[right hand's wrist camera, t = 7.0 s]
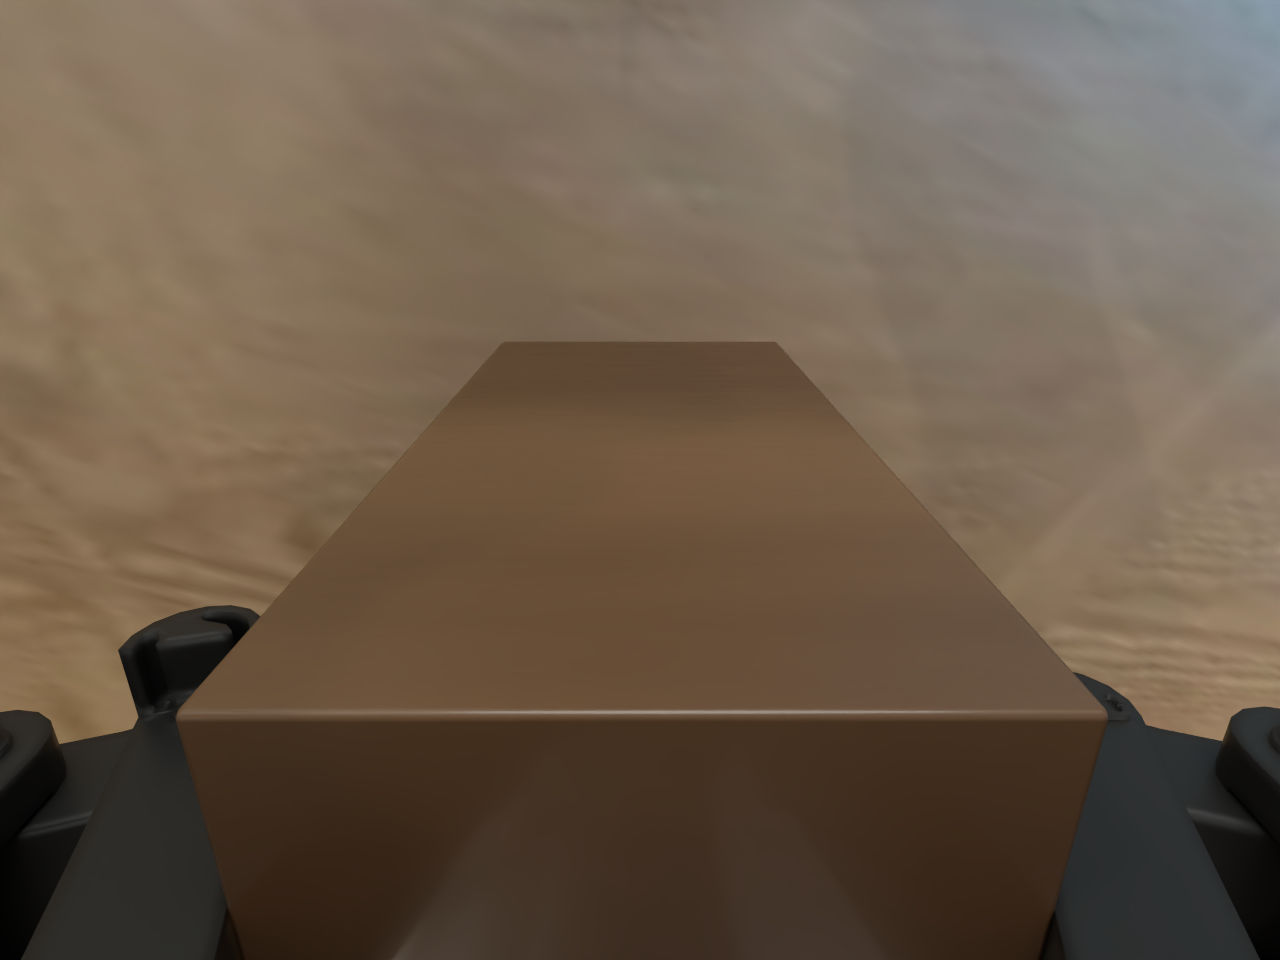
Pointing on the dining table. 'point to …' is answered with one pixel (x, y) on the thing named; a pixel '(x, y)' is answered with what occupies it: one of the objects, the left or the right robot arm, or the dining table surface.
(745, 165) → the dining table surface
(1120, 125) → the dining table surface
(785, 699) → the box
